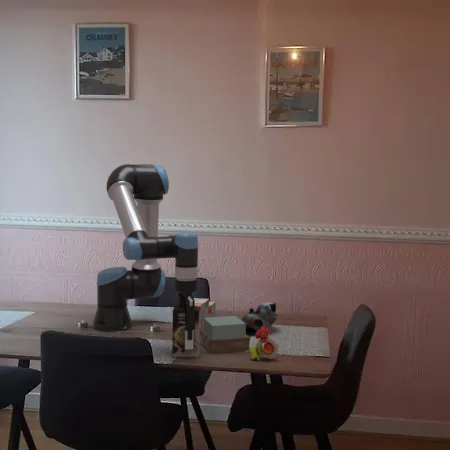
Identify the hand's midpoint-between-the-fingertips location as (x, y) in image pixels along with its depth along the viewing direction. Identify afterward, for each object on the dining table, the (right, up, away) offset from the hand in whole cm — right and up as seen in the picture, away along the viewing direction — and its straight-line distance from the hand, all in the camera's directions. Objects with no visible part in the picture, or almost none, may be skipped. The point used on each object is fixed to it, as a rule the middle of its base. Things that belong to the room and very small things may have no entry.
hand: (186, 345), depth 206 cm
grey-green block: (+13, +2, +9) cm, 16 cm away
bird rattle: (+26, -4, -3) cm, 27 cm away
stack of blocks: (+3, -1, +34) cm, 34 cm away
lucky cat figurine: (+26, -1, +33) cm, 42 cm away
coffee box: (0, -3, 0) cm, 3 cm away
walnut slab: (+13, -3, +11) cm, 17 cm away
